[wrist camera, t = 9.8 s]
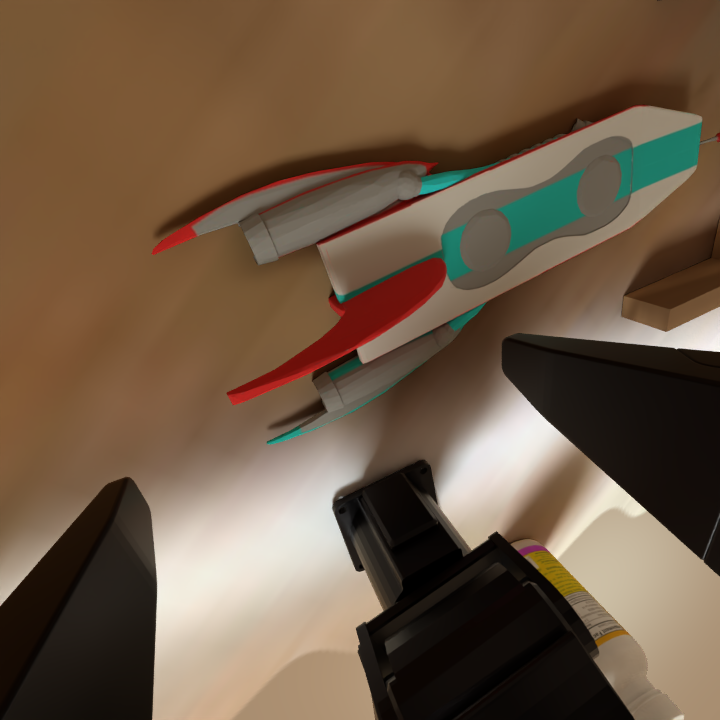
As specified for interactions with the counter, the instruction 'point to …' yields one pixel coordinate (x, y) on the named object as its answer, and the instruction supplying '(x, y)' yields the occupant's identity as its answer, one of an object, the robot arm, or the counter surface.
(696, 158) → the toy spaceship
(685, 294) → the jig
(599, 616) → the supplement bottle
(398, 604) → the robot arm
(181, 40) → the counter surface
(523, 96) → the counter surface
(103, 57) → the counter surface
